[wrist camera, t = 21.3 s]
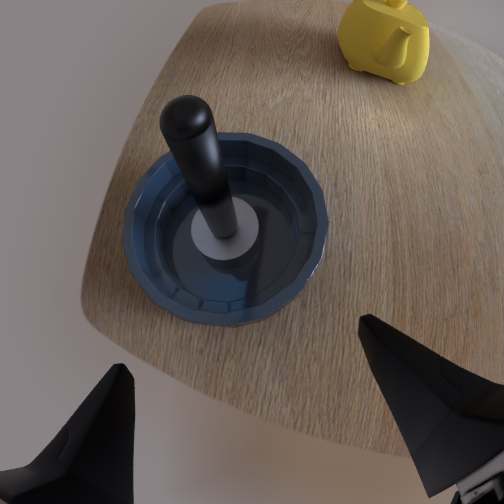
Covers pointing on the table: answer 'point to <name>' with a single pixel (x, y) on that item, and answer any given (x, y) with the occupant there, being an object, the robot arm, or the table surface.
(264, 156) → the bowl
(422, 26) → the teapot
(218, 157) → the coffee tamper
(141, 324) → the table surface
